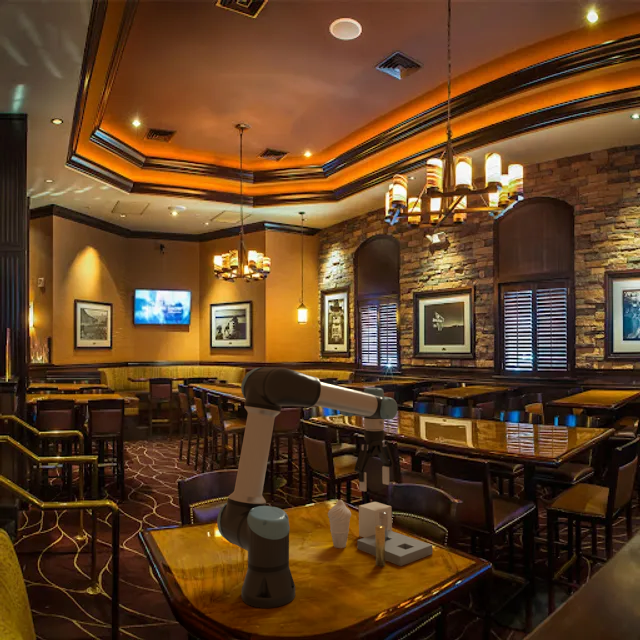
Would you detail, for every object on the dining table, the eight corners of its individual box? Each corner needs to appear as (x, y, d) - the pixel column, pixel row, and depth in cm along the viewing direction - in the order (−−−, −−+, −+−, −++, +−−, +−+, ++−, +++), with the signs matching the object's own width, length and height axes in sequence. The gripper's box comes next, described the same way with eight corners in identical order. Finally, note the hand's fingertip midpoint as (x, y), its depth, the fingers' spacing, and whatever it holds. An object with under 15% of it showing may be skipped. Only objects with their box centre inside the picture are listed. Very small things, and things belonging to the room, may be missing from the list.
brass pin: (380, 567, 171) (380, 528, 171) (373, 564, 173) (373, 526, 174) (387, 564, 173) (386, 526, 173) (380, 562, 175) (379, 524, 176)
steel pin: (384, 549, 186) (383, 514, 187) (377, 547, 188) (377, 512, 189) (389, 547, 188) (389, 512, 189) (383, 545, 190) (383, 510, 191)
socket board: (400, 566, 171) (400, 556, 172) (357, 548, 187) (357, 540, 187) (432, 553, 182) (432, 544, 182) (389, 538, 197) (389, 530, 197)
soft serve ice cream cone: (342, 552, 184) (342, 504, 185) (323, 547, 189) (322, 500, 190) (356, 545, 190) (355, 499, 191) (336, 540, 195) (336, 495, 196)
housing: (375, 541, 193) (375, 510, 194) (359, 535, 200) (358, 505, 201) (392, 536, 199) (391, 506, 200) (375, 530, 206) (375, 501, 206)
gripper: (360, 434, 189) (360, 495, 187) (402, 427, 207) (402, 483, 205) (344, 432, 194) (344, 491, 193) (386, 425, 212) (387, 479, 210)
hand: (374, 487), depth 199 cm, fingers open, 13 cm apart
